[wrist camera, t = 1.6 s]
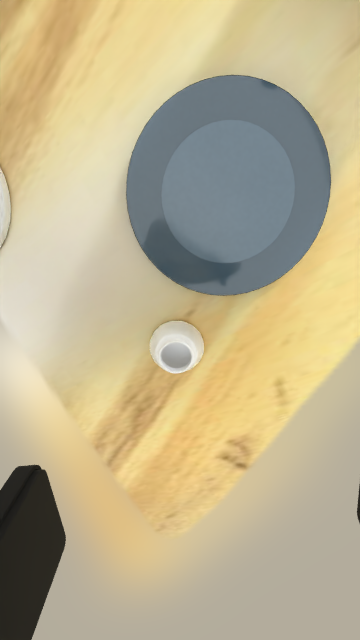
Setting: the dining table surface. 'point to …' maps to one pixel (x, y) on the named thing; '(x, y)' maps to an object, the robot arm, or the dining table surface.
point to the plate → (228, 185)
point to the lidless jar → (176, 346)
